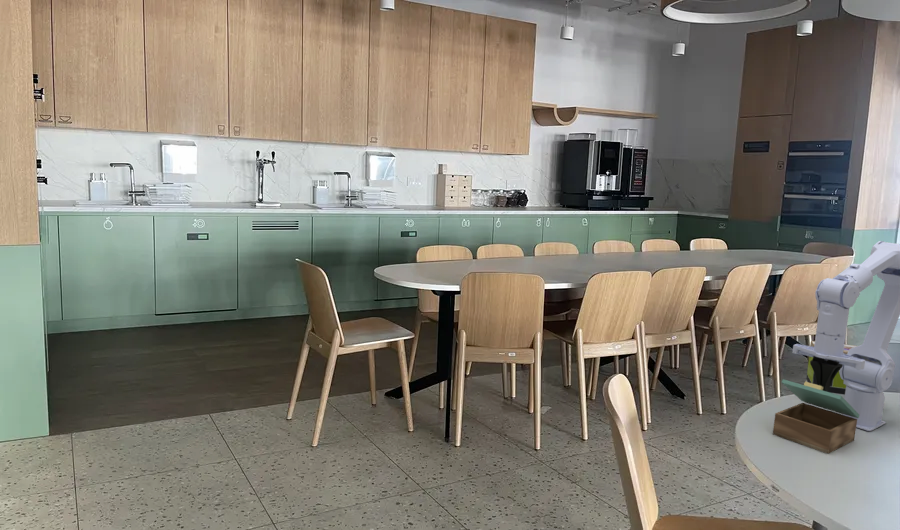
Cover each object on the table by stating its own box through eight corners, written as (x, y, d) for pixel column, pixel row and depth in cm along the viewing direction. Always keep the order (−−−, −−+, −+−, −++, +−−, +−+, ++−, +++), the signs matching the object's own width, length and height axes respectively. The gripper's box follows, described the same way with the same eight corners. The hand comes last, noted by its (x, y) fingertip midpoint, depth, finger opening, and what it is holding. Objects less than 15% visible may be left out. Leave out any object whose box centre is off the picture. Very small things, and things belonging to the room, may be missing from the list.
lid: (802, 402, 161) (805, 394, 162) (858, 419, 152) (861, 411, 152) (781, 382, 153) (784, 375, 153) (839, 399, 143) (842, 391, 144)
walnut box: (799, 422, 162) (802, 402, 161) (854, 440, 152) (857, 419, 152) (772, 434, 154) (775, 413, 153) (828, 453, 144) (831, 431, 144)
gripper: (789, 327, 153) (781, 385, 156) (858, 343, 142) (849, 405, 144) (804, 324, 158) (796, 380, 160) (872, 339, 147) (863, 399, 149)
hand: (822, 391), depth 152 cm, fingers closed
